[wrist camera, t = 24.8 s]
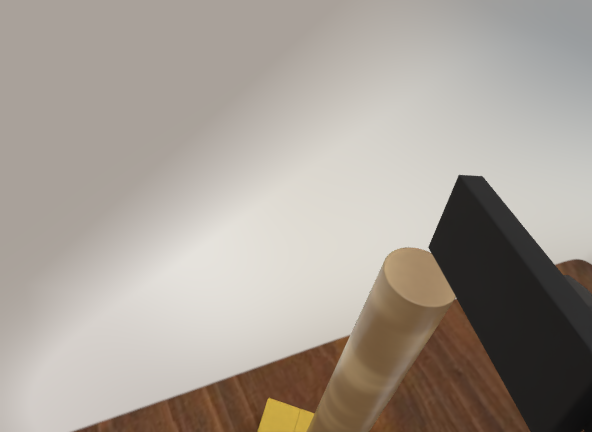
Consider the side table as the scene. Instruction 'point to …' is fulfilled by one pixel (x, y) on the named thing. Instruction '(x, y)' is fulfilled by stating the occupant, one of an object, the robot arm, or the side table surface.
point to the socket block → (284, 418)
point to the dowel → (384, 341)
